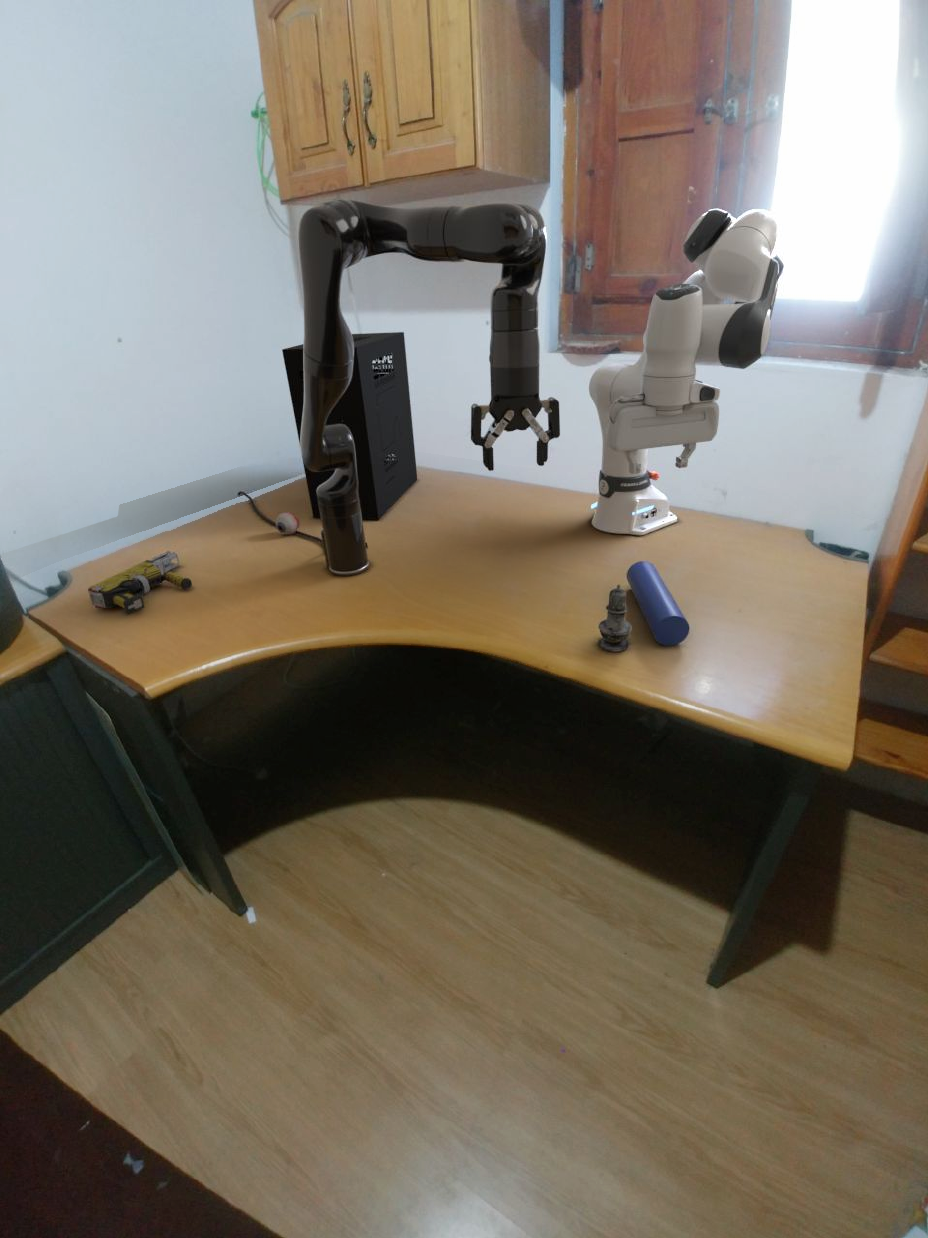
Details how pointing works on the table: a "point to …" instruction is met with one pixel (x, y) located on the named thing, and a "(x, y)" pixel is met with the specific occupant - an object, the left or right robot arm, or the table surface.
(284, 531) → the eyeball
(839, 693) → the table surface
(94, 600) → the toy gun
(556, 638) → the table surface
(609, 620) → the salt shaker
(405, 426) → the cardboard box
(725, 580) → the table surface
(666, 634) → the rod
